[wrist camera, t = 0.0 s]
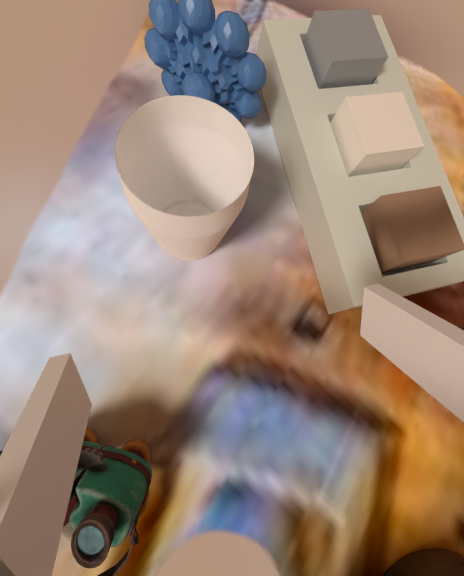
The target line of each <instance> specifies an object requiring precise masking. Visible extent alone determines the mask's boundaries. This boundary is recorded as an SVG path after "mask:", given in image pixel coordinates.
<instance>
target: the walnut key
mask: <svg viewBox="0 0 464 576" xmlns="http://www.w3.org/2000/svg"><path fill="white" fill-rule="evenodd" d="M361 215H362V218H363V221H364V224H365V227H366V230H367V233H368V236H369V239H370V241H371V244H372V247H373V250H374V253H375V256H376V259H377V262H378V265H379V268H380V271H381V274H382V273H386V272H391V271H395V270H400V269H404V268H409V267H414V266H418V265H423V264H427V263H431V262H433V261H436V260H439V259H441V258H444V257H446V256H449V255H451V254H454V253H457V252H459V251H462V250H464V243H463V241H462V238H461V236H460V233H459V231H458V228H457V226H456V223H455V221H454V218H453V216H452V213H451V211H450V208H449V206H448V203H447V201H446V198H445V196H444V193H443V191H442V188H441V186H436V187H430V188H424V189H418V190H412V191H406V192H400V193H394V194H388V195H382V196H380V197H379V198H378V199H377V200H375V201H374V202H373V203H372V204H371V205H369V206H368V207H367V208H366V209H365V210H364V211H362V212H361Z"/></svg>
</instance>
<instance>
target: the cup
mask: <svg viewBox="0 0 464 576" xmlns="http://www.w3.org/2000/svg"><path fill="white" fill-rule="evenodd" d="M115 159H116V165H117V168H118V172H119V175H120V179H121V182H122V186H123V190H124V194H125V197H126V199H127V201H128V203H129V205H130V207H131V209H132V210H133V212H134V213H135V214H136V216H137V217H138V218H139V220H140V221H141V222H142V224H143V225H144V226H145V227H146V229H147V230H148V231H149V233H150V234H151V235H152V236H153V238H154V239H155V240H156V242H157V243H158V244H159V246H160V247H161V248H162V249H163V250H164V251H165V252H166V253H167V254H168V255H170V256H172V257H174V258H176V259H179V260H184V261H194V260H199V259H201V258H204V257H206V256H207V255H209V254H210V253H211V252H212V251H213V250H214V249H215V248H216V246H217V245H218V244H219V242H220V241H221V239H222V238H223V237H224V235H225V234H226V232H227V231H228V230H229V228H230V227H231V225H232V224H233V222H234V221H235V220H236V218H237V217H238V215H239V214H240V212H241V210H242V209H243V207H244V204H245V202H246V199H247V196H248V191H249V185H250V181H251V177H252V173H253V168H254V152H253V147H252V143H251V140H250V138H249V136H248V134H247V132H246V130H245V129H244V127H243V126H242V124H241V123H240V122H239V121H238V120H237V119H236V118H235V117H234V116H233V115H232V114H231V113H230V112H228V111H227V110H226V109H224V108H223V107H221V106H219V105H217V104H216V103H213V102H211V101H208V100H206V99H202V98H199V97H194V96H186V95H175V96H166V97H162V98H158V99H155V100H152V101H150V102H148V103H146V104H144V105H142V106H141V107H139V108H138V109H136V110H135V111H134V112H133V113H132V114H131V115H130V116H129V117H128V118H127V119H126V121H125V122H124V124H123V125H122V127H121V129H120V131H119V133H118V136H117V140H116V144H115Z"/></svg>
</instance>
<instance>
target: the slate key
mask: <svg viewBox="0 0 464 576" xmlns="http://www.w3.org/2000/svg"><path fill="white" fill-rule="evenodd" d="M303 46H304V49H305V52H306V54H307V57H308V60H309V63H310V66H311V69H312V72H313V75H314V78H315V81H316V84H317V87H318V89H325V88H336V87H347V86H358V85H369V84H371V83H372V81H373V80H374V78H375V77H376V75H377V74H378V72H379V71H380V69H381V68H382V66H383V65H384V63H385V62H386V60H387V59H388V55H387V52H386V50H385V47H384V45H383V42H382V40H381V37H380V35H379V32H378V30H377V27H376V25H375V22H374V20H373V17H372V15H371V12H370V10H369V9H350V10H324V11H314V14H313V17H312V19H311V22H310V25H309V28H308V31H307V33H306V36H305V39H304V42H303Z"/></svg>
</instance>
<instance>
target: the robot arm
mask: <svg viewBox="0 0 464 576" xmlns="http://www.w3.org/2000/svg"><path fill="white" fill-rule="evenodd" d="M360 336H361V337H363V338H364V339H365V340H366V341H367V342H368V343H370V344H371V345H372V346H373V347H374V348H376V349H377V350H378V351H379V352H380V353H382V354H383V355H384V356H385V357H386V358H387V359H389V360H390V361H391V362H392V363H393V364H395V365H396V366H397V367H398V368H399V369H401V370H402V371H403V372H404V373H405V374H406V375H408V376H409V377H410V378H411V379H412V380H414V381H415V382H416V383H417V384H418V385H419V386H421V387H422V388H423V389H424V390H425V391H427V392H428V393H429V394H430V395H431V396H433V397H434V398H435V399H436V400H437V401H438V402H440V403H441V404H442V405H443V406H444V407H446V408H447V409H448V410H449V411H450V412H452V413H453V414H454V415H455V416H456V417H457V418H459V419H460V420H461V421H462V422H463V423H464V328H462V327H456V326H455V325H453V324H451V323H449V322H447V321H446V320H444V319H442V318H440V317H438V316H436V315H435V314H433V313H431V312H429V311H427V310H425V309H424V308H422V307H420V306H418V305H416V304H415V303H413V302H411V301H409V300H407V299H405V298H404V297H402V296H400V295H398V294H396V293H394V292H393V291H391V290H389V289H387V288H385V287H384V286H382V285H380V284H374V285H370V286H366V287H364V294H363V306H362V318H361V330H360ZM91 406H92V404H91V402H90V399H89V397H88V394H87V392H86V390H85V387H84V385H83V382H82V380H81V378H80V375H79V373H78V370H77V368H76V366H75V363H74V361H73V358H72V356H71V354H70V353H69V354H65V355H60V356H56V357H51V358H49V360H48V362H47V364H46V366H45V368H44V370H43V372H42V374H41V376H40V378H39V380H38V382H37V384H36V386H35V388H34V390H33V392H32V394H31V396H30V398H29V400H28V402H27V404H26V406H25V408H24V410H23V412H22V414H21V416H20V418H19V420H18V422H17V424H16V426H15V428H14V430H13V432H12V434H11V436H10V438H9V440H8V442H7V444H6V446H5V448H4V450H3V451H0V576H52V571H53V567H54V563H55V559H56V554H57V550H58V546H59V542H60V537H61V533H62V529H63V525H64V520H65V516H66V512H67V508H68V503H69V499H70V495H71V491H72V486H73V482H74V478H75V474H76V469H77V465H78V461H79V457H80V452H81V448H82V444H83V440H84V435H85V431H86V427H87V423H88V418H89V414H90V410H91ZM384 576H464V556H463V555H461V554H459V553H456V552H453V551H448V550H442V549H429V550H423V551H419V552H416V553H413V554H411V555H409V556H407V557H405V558H403V559H402V560H400V561H399V562H397V563H396V564H395V565H394V566H393V567H391V568H390V569H389V570H388V571H387V572H386V574H385V575H384Z"/></svg>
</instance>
